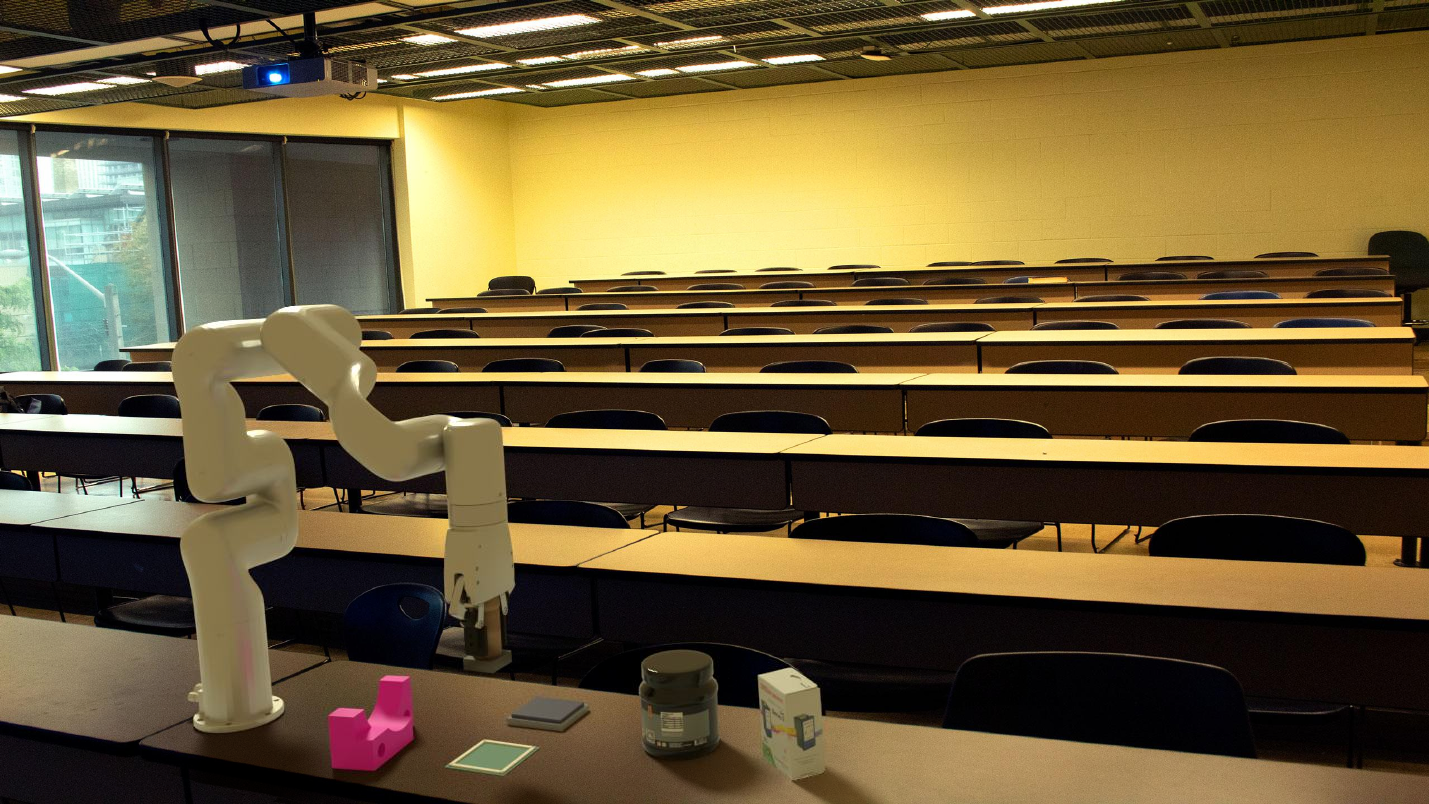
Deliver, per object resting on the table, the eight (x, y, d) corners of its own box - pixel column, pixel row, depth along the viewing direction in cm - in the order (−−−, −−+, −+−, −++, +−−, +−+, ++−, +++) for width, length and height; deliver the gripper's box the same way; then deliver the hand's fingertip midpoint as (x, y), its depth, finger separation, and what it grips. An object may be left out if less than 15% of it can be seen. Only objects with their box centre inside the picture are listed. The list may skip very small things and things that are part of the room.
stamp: (463, 669, 148) (459, 591, 147) (483, 658, 152) (478, 582, 151) (493, 673, 146) (488, 594, 145) (511, 661, 150) (507, 584, 149)
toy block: (374, 773, 148) (370, 718, 147) (332, 770, 149) (328, 715, 149) (429, 727, 162) (425, 677, 162) (390, 725, 164) (386, 675, 163)
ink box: (826, 777, 141) (823, 686, 140) (789, 786, 139) (786, 693, 138) (794, 751, 149) (792, 665, 148) (759, 759, 147) (756, 672, 145)
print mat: (444, 768, 148) (444, 765, 148) (483, 741, 156) (483, 738, 156) (503, 777, 144) (503, 774, 144) (539, 749, 153) (539, 745, 153)
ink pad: (507, 724, 162) (506, 714, 161) (536, 704, 169) (535, 694, 169) (561, 732, 158) (561, 721, 158) (589, 710, 166) (588, 701, 165)
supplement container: (698, 725, 159) (694, 643, 157) (734, 752, 149) (730, 664, 148) (629, 742, 154) (625, 657, 153) (662, 771, 145) (657, 680, 143)
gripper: (488, 499, 156) (496, 628, 158) (414, 526, 140) (424, 668, 143) (535, 502, 153) (543, 632, 155) (465, 529, 138) (475, 674, 140)
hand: (486, 648), depth 149 cm, fingers closed on stamp, 3 cm apart
